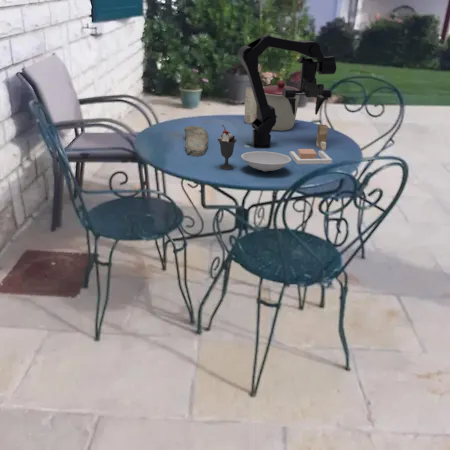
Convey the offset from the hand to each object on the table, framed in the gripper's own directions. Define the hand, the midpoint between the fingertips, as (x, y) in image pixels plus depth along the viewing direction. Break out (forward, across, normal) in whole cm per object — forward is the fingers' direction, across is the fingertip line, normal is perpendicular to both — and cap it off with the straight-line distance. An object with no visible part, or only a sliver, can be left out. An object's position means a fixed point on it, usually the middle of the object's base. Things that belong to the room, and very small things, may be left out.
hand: (305, 114), depth 223 cm
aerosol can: (+12, -14, +36) cm, 41 cm away
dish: (+12, -23, -33) cm, 42 cm away
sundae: (+12, -36, -28) cm, 47 cm away
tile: (+12, -3, -18) cm, 22 cm away
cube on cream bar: (+12, +6, -6) cm, 15 cm away
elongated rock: (+13, -43, +3) cm, 45 cm away
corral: (+12, -3, -20) cm, 24 cm away
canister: (+12, -4, +25) cm, 28 cm away
